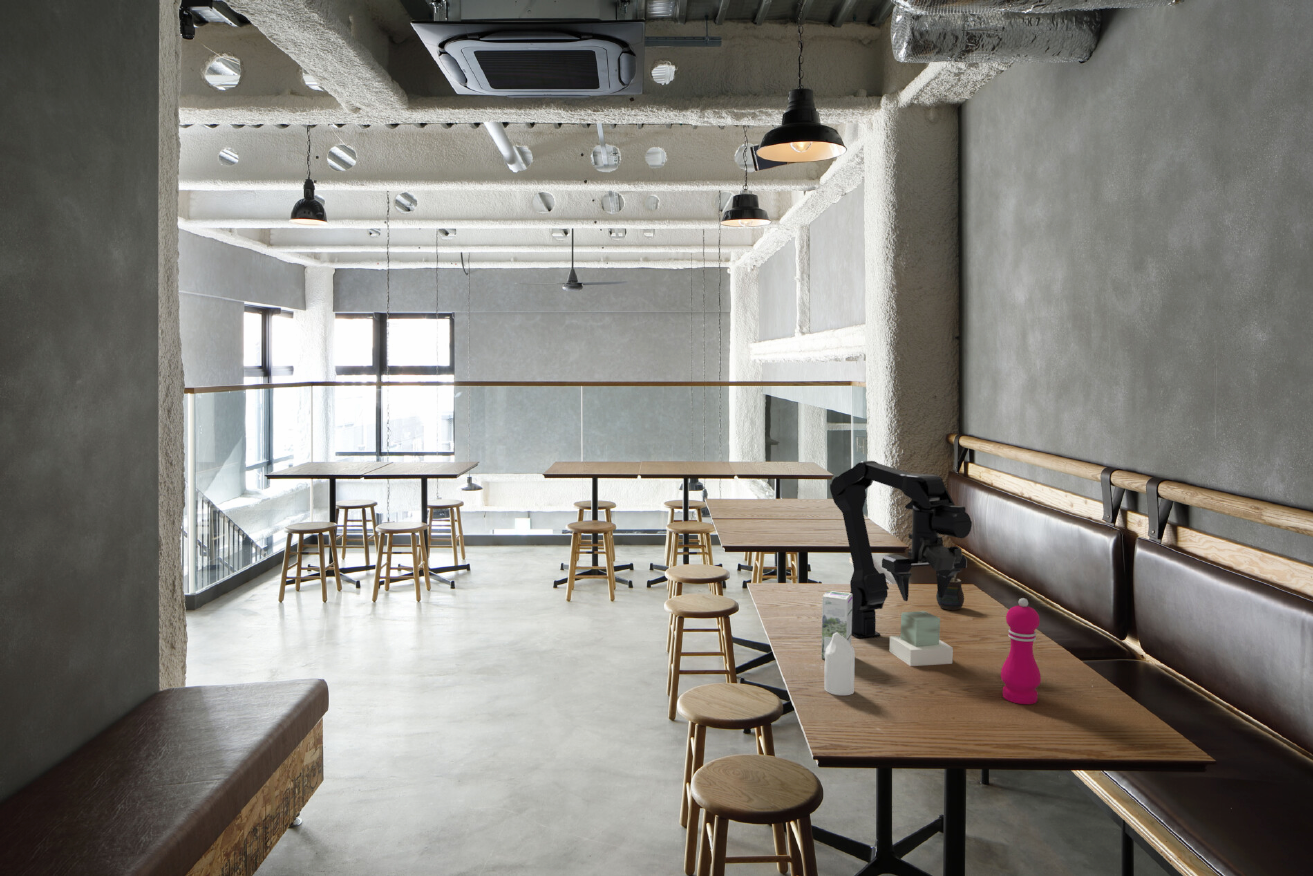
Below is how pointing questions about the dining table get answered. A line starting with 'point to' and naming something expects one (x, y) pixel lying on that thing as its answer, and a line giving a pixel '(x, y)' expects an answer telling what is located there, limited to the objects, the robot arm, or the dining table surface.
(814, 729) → the dining table surface
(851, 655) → the white bottle
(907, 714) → the dining table surface
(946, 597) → the mate gourd
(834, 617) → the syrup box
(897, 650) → the cream block
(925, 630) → the green cube
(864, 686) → the dining table surface
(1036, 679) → the pepper mill
